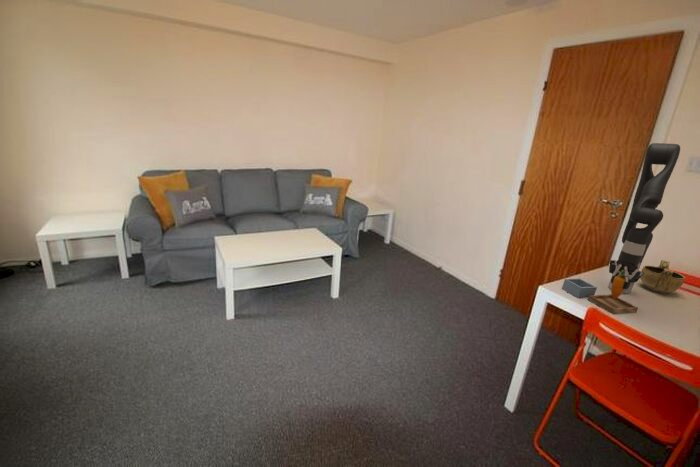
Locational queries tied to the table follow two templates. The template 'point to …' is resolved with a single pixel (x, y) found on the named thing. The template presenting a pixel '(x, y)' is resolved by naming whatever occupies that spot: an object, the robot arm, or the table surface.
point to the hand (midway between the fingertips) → (618, 286)
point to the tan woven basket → (661, 278)
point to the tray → (612, 304)
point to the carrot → (618, 285)
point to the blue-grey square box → (579, 288)
